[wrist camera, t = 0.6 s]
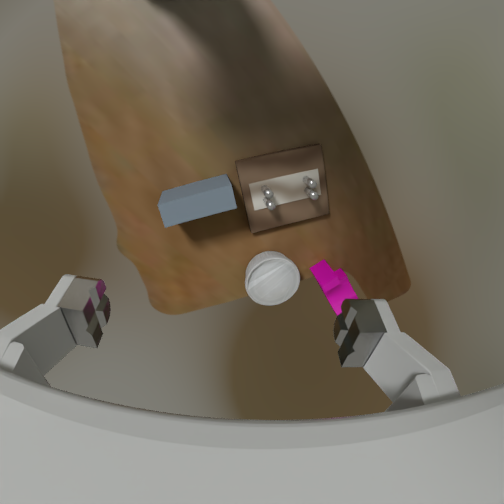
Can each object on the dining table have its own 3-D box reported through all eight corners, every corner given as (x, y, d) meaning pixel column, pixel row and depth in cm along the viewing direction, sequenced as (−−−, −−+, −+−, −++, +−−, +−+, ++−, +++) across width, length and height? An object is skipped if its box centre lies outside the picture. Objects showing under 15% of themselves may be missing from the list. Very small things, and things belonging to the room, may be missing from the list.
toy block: (353, 295, 73) (367, 313, 66) (332, 309, 73) (344, 328, 67) (333, 252, 66) (347, 269, 59) (309, 267, 66) (321, 286, 60)
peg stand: (235, 160, 53) (239, 166, 48) (318, 143, 54) (330, 148, 49) (250, 230, 59) (255, 242, 55) (326, 211, 60) (337, 221, 56)
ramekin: (254, 239, 61) (259, 251, 56) (301, 254, 64) (310, 266, 60) (233, 284, 65) (236, 299, 60) (279, 296, 68) (285, 310, 64)
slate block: (162, 191, 53) (157, 205, 46) (226, 173, 54) (231, 184, 47) (168, 211, 55) (165, 227, 48) (231, 194, 55) (236, 208, 48)
